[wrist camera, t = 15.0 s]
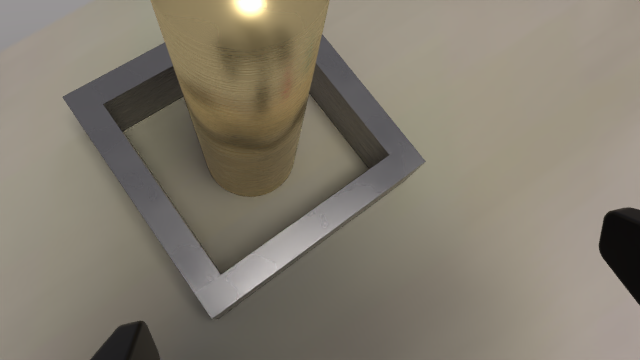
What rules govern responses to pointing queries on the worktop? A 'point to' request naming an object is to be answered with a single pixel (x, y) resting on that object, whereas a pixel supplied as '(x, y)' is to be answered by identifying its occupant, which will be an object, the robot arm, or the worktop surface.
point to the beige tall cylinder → (245, 81)
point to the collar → (292, 243)
